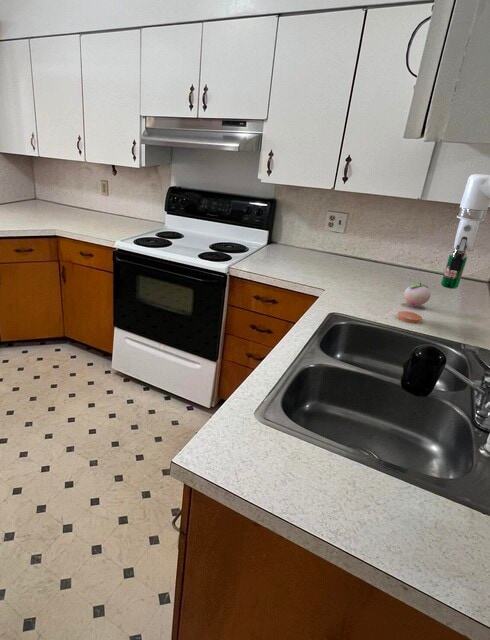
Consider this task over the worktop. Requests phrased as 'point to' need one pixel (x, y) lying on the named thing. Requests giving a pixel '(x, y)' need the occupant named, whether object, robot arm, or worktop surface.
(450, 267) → the robot arm
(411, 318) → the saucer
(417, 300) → the decorative fruit
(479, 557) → the worktop surface
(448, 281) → the soda can
